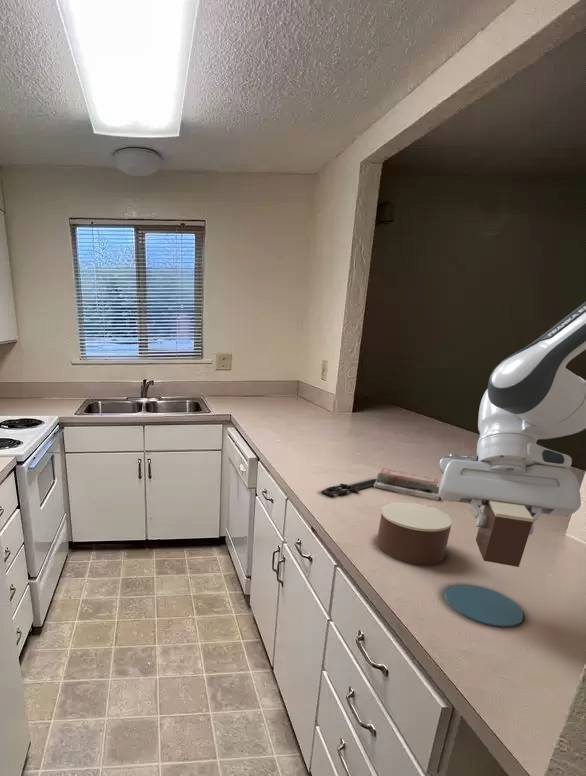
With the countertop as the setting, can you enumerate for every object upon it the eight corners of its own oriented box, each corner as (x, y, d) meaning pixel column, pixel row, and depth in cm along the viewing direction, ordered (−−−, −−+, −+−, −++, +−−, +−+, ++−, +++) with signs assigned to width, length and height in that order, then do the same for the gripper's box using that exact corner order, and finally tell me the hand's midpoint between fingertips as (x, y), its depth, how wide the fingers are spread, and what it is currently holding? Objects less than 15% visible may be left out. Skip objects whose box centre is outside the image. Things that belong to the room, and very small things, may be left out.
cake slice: (507, 545, 79) (520, 500, 76) (518, 567, 72) (533, 518, 69) (475, 539, 81) (487, 495, 78) (483, 560, 74) (496, 513, 71)
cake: (440, 542, 104) (448, 507, 100) (447, 571, 92) (456, 534, 89) (376, 531, 109) (382, 498, 106) (375, 558, 97) (381, 522, 94)
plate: (512, 597, 83) (513, 593, 83) (530, 636, 73) (531, 632, 73) (441, 582, 88) (442, 579, 88) (448, 618, 78) (449, 614, 77)
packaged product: (375, 473, 133) (382, 464, 141) (373, 487, 135) (379, 478, 143) (442, 486, 124) (445, 476, 132) (438, 501, 126) (441, 491, 133)
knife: (378, 480, 142) (379, 476, 142) (394, 487, 137) (395, 483, 136) (316, 492, 134) (317, 487, 133) (330, 499, 128) (331, 495, 127)
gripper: (444, 444, 81) (439, 513, 76) (583, 458, 73) (587, 535, 68) (437, 460, 86) (431, 525, 81) (566, 474, 78) (569, 546, 73)
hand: (504, 529), depth 74 cm, fingers closed on cake slice, 5 cm apart
